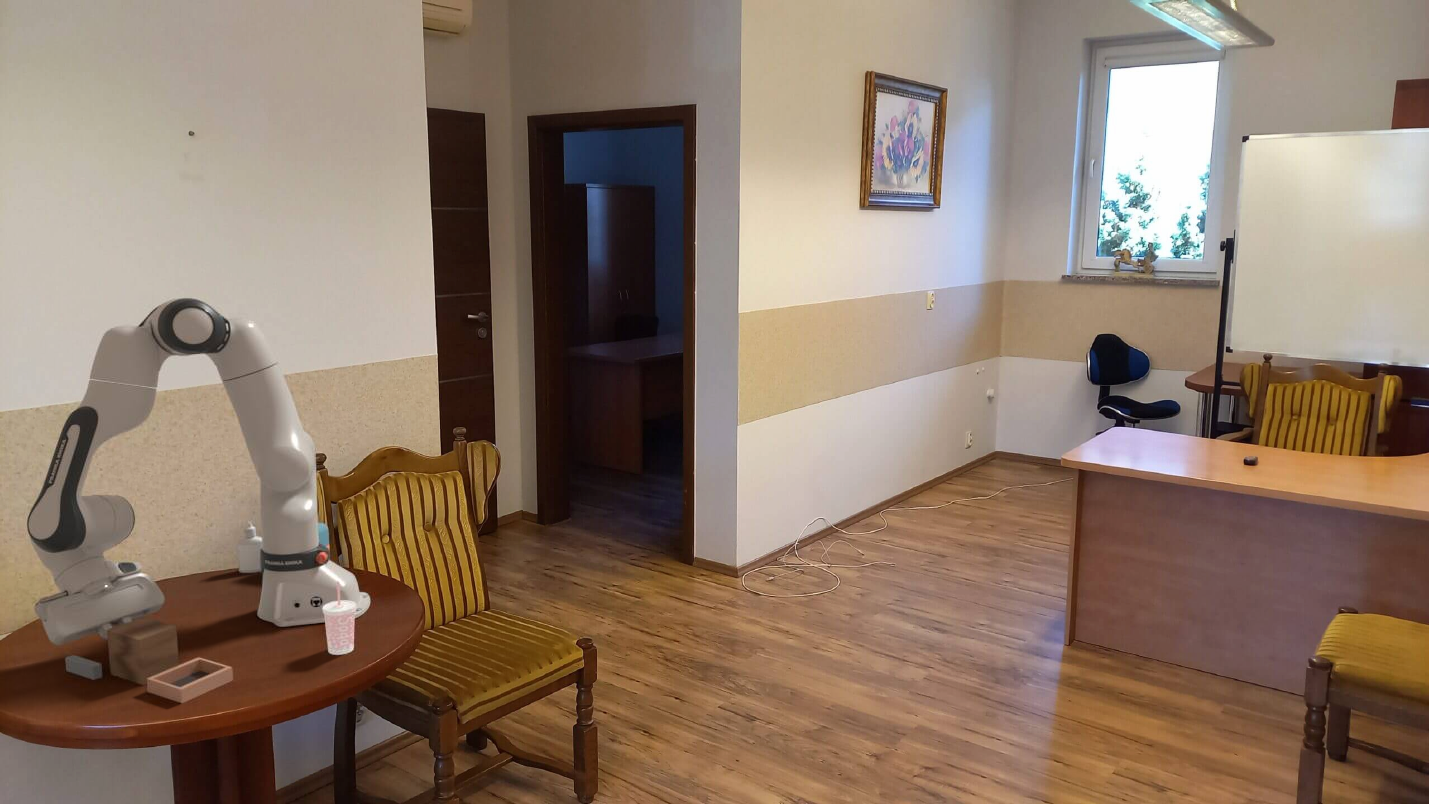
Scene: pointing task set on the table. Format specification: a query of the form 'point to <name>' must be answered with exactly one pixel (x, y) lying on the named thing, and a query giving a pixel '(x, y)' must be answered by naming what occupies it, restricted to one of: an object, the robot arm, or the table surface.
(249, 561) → the eye dropper bottle
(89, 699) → the table surface
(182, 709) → the table surface
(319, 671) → the table surface
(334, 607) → the beverage cup
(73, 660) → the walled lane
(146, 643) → the walnut block
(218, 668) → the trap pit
